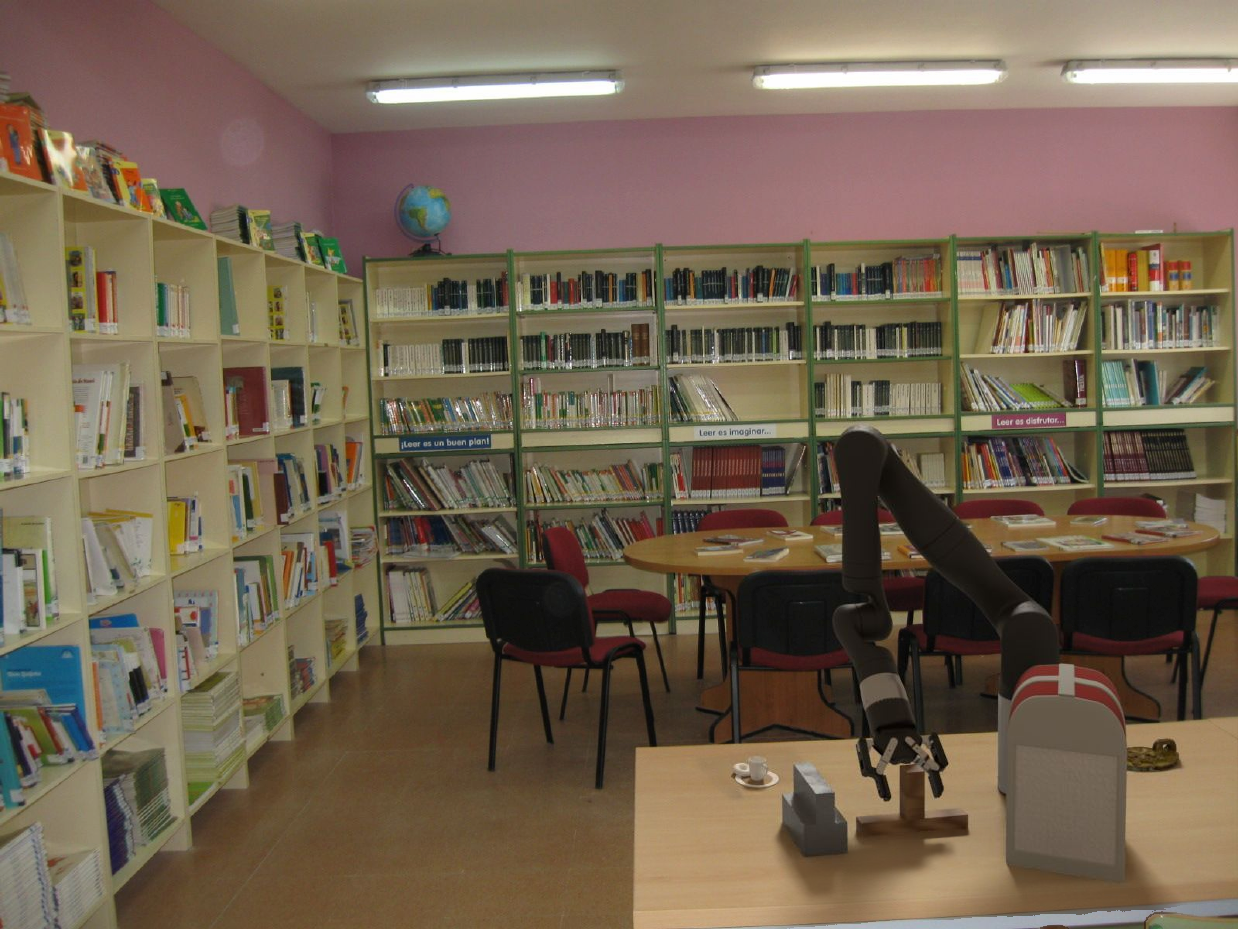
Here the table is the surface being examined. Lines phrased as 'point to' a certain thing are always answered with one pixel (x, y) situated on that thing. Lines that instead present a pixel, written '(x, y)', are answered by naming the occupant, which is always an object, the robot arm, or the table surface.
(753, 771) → the teacup and saucer
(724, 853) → the table surface
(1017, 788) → the red-striped tombstone block
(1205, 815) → the table surface
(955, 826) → the wooden t-shaped block
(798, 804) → the gray metal t-shaped block
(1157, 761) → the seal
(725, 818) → the table surface
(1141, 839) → the table surface
